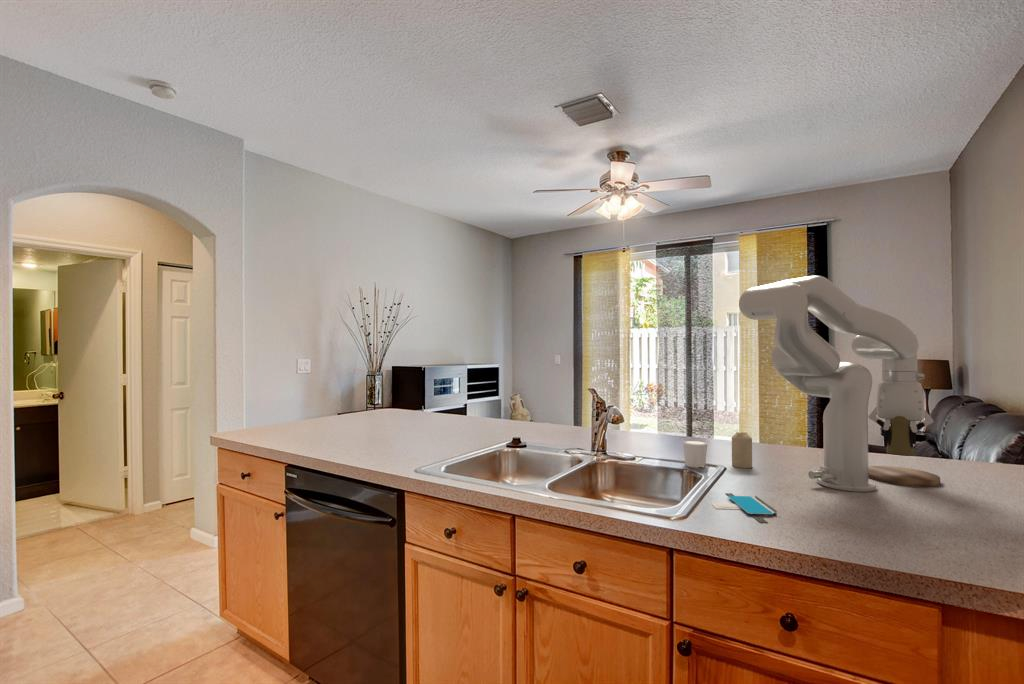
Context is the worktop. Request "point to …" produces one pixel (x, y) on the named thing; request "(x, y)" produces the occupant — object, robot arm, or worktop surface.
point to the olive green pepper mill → (900, 437)
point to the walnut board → (903, 476)
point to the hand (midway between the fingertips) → (900, 444)
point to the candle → (741, 450)
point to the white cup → (695, 453)
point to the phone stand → (748, 506)
